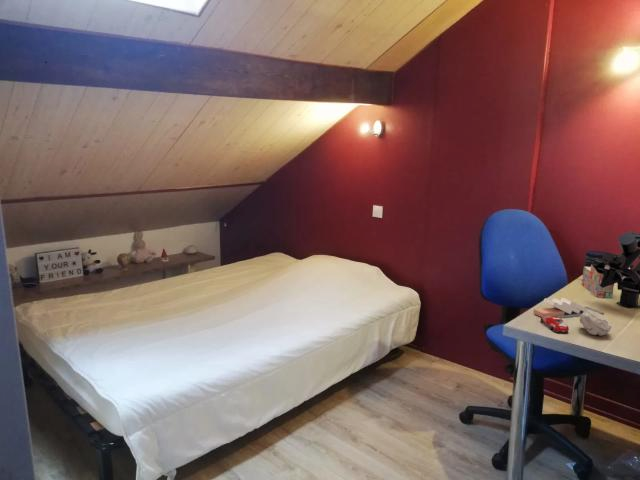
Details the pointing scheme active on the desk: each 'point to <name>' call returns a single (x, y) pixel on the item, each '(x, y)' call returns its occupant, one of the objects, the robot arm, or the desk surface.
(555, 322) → the race car
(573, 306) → the domino
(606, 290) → the stack of blocks
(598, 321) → the fossil replica
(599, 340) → the desk surface
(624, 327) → the desk surface
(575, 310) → the domino
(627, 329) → the desk surface
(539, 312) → the domino
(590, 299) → the desk surface
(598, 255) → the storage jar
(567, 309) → the domino
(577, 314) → the domino mat
